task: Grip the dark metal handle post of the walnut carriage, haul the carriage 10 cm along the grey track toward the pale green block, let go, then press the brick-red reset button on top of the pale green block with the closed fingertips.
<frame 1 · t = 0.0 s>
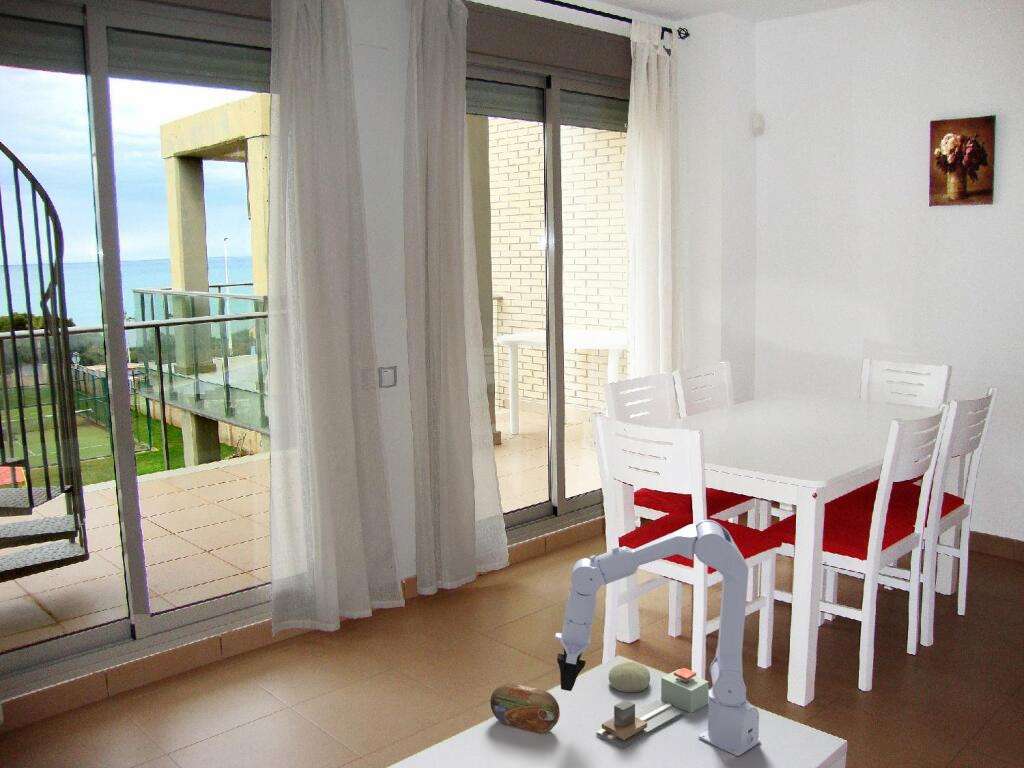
hand: (567, 680, 185), 11 cm above the table, tool pointing down, fingers open, 7 cm apart
pale green block: (684, 701, 197), on the table
track: (640, 725, 187), on the table
carriage: (624, 716, 183), point 4 cm above the table, slide at 0.0 cm
tin: (525, 727, 188), on the table
sea urchin shell: (629, 686, 204), on the table
reset button: (684, 677, 196), point 6 cm above the table, slide at 0.0 cm
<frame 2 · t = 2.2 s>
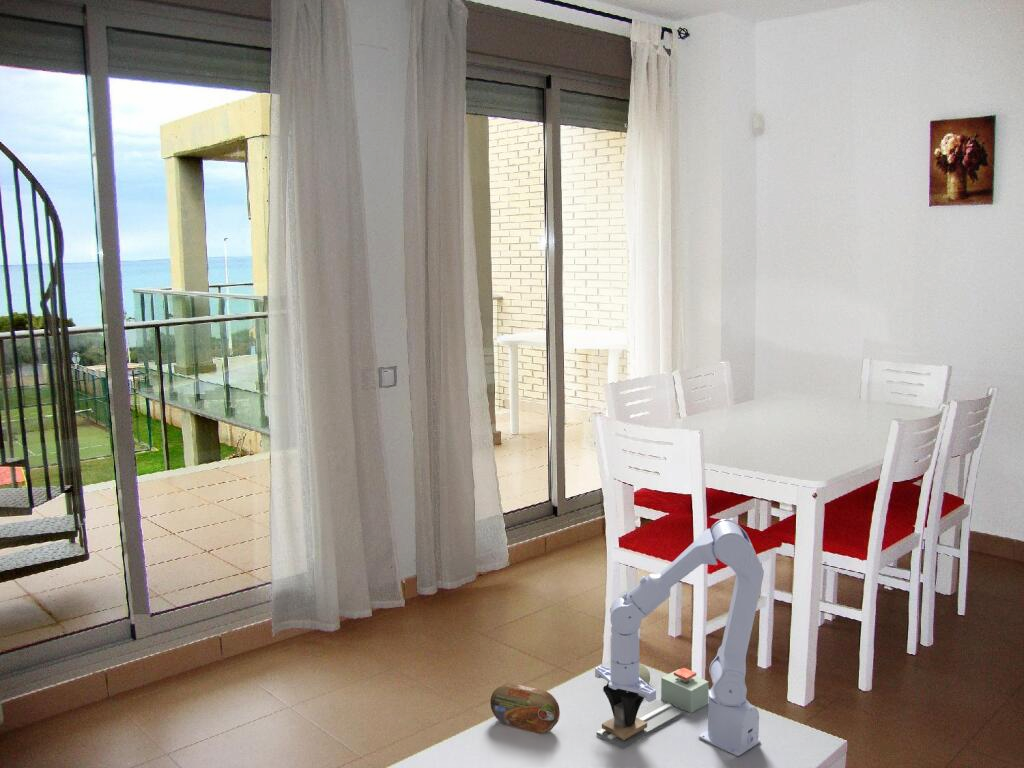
hand: (624, 721, 184), 3 cm above the table, tool pointing down, fingers closed on carriage, 2 cm apart
carriage: (624, 716, 183), point 4 cm above the table, slide at 0.0 cm, touching gripper
everything else where it was.
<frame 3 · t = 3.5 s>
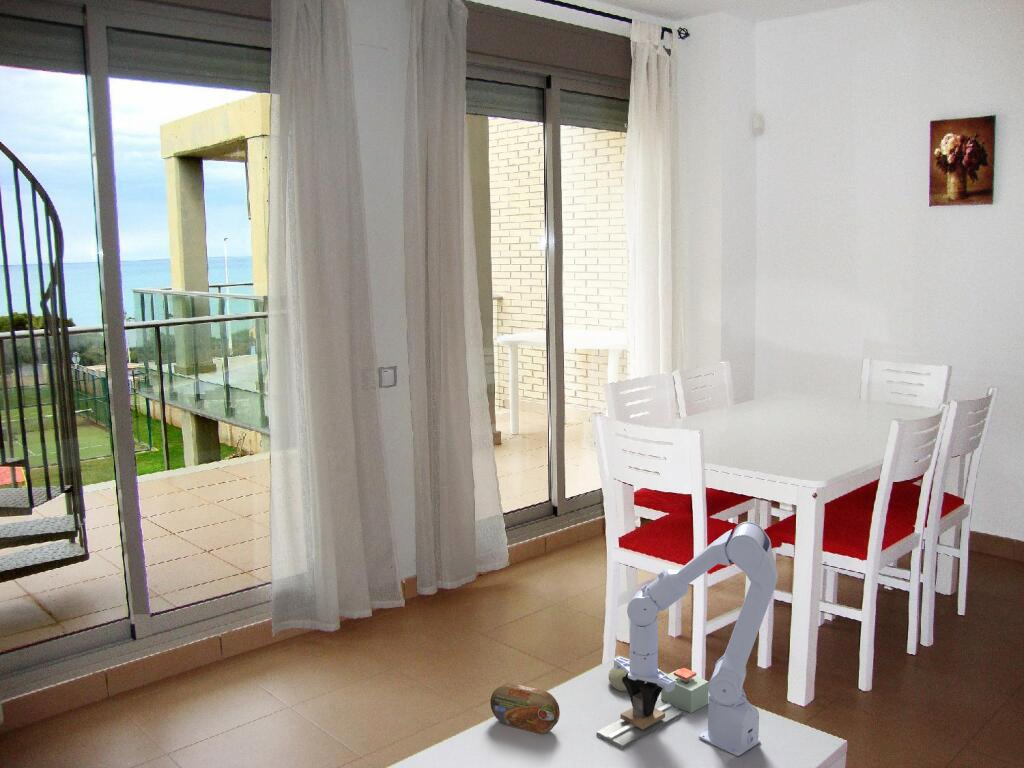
hand: (643, 711, 187), 3 cm above the table, tool pointing down, fingers closed on carriage, 2 cm apart
carriage: (642, 706, 187), point 4 cm above the table, slide at 5.7 cm, touching gripper
everything else where it was.
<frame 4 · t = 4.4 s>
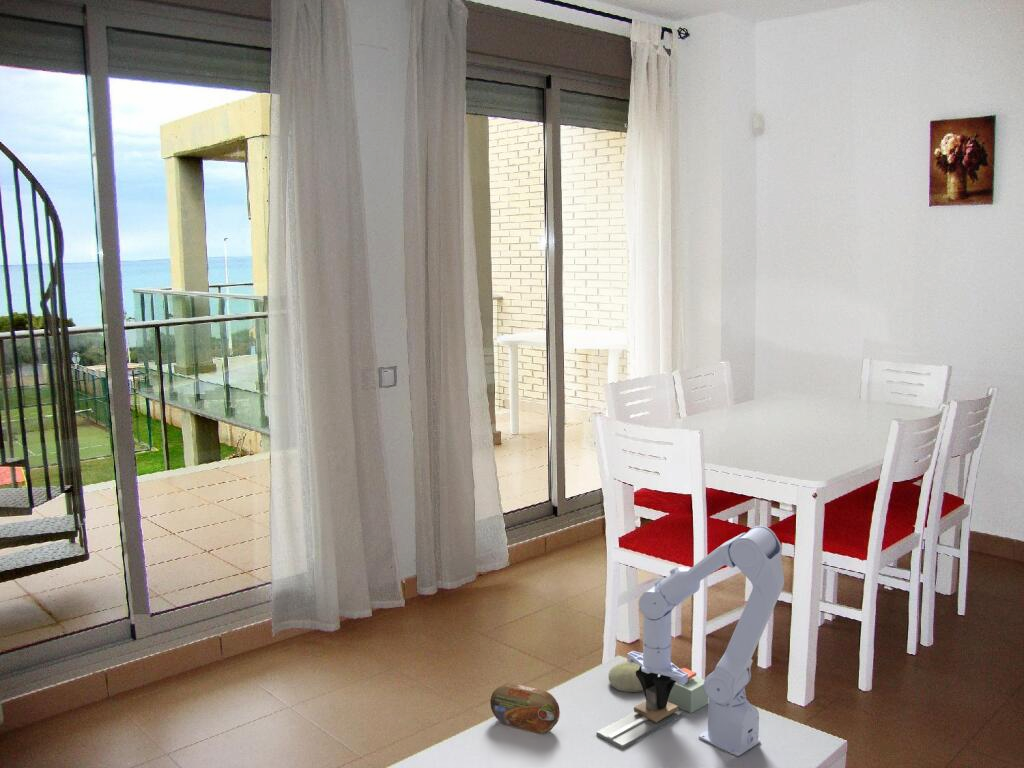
hand: (656, 704, 190), 3 cm above the table, tool pointing down, fingers closed on carriage, 2 cm apart
carriage: (656, 699, 190), point 4 cm above the table, slide at 9.8 cm, touching gripper
everything else where it was.
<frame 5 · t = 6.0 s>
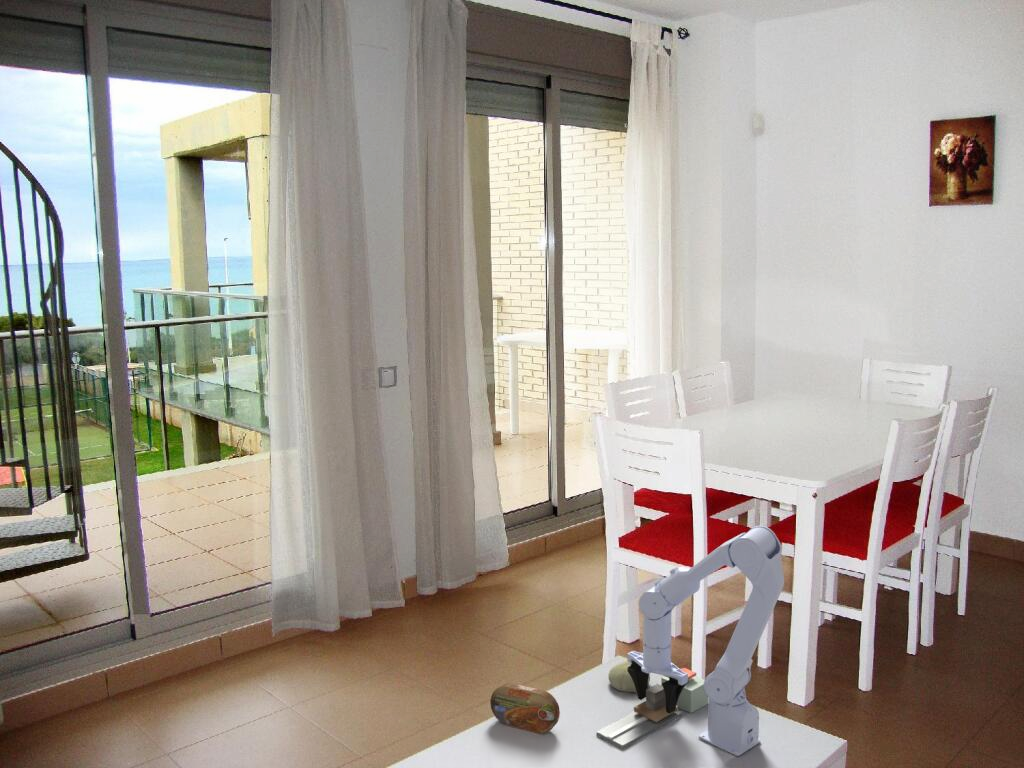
hand: (656, 704, 190), 3 cm above the table, tool pointing down, fingers open, 7 cm apart
carriage: (656, 699, 190), point 4 cm above the table, slide at 9.9 cm
everything else where it was.
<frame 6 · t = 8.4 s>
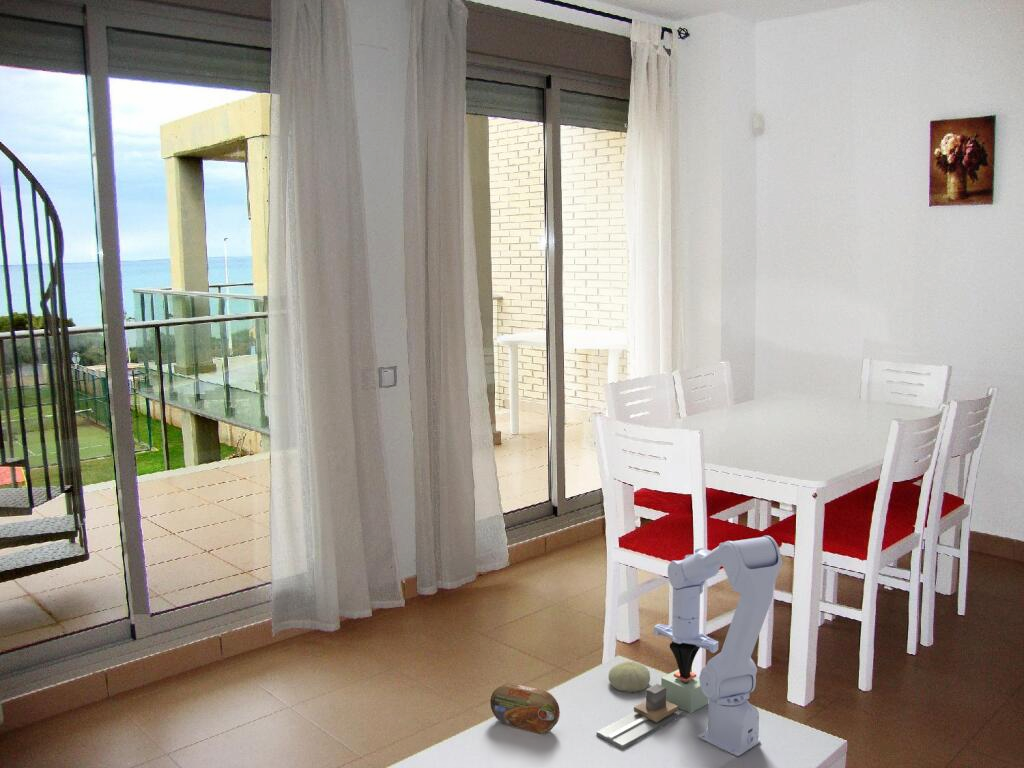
hand: (684, 674, 196), 6 cm above the table, tool pointing down, fingers closed, pressing on reset button
reset button: (684, 678, 196), point 5 cm above the table, slide at 0.3 cm, touching gripper
everything else where it was.
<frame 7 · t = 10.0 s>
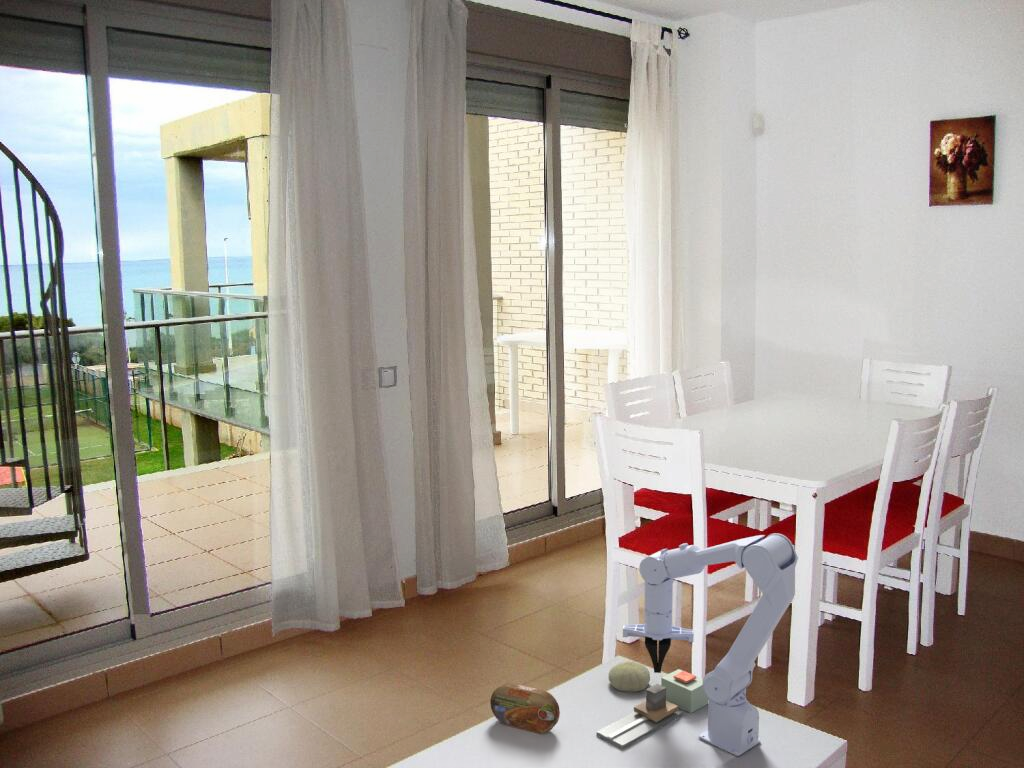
hand: (657, 670, 191), 9 cm above the table, tool pointing down, fingers closed
reset button: (684, 680, 196), point 5 cm above the table, slide at 0.7 cm
everything else where it was.
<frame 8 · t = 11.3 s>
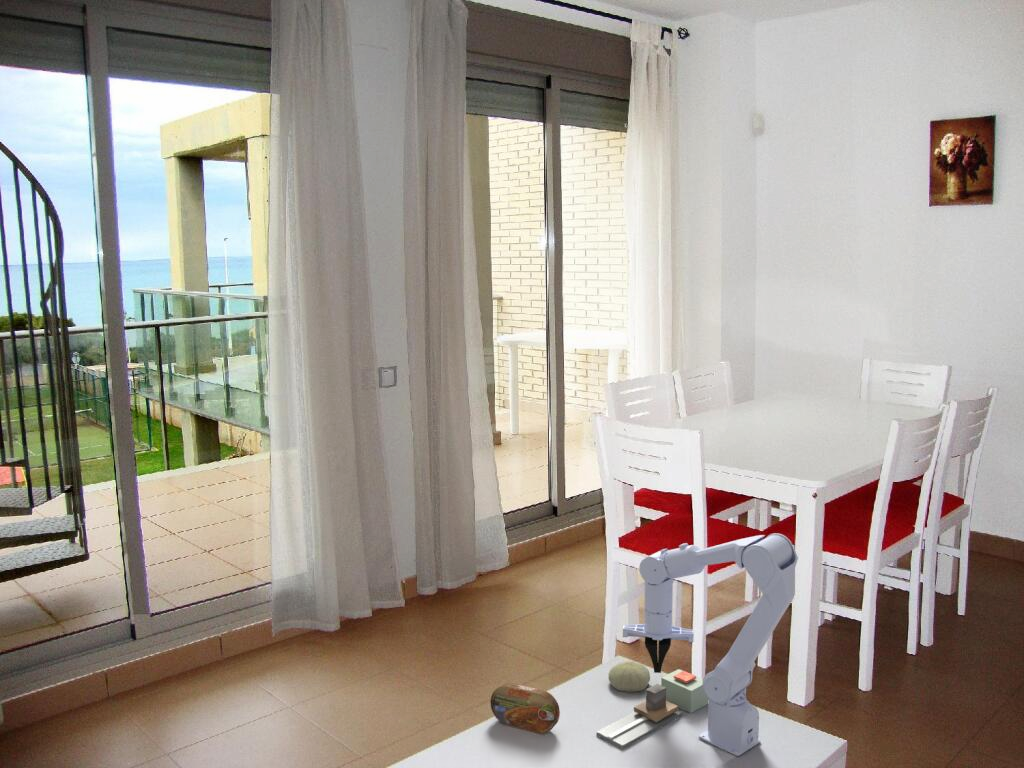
hand: (657, 670, 191), 9 cm above the table, tool pointing down, fingers closed
nothing on the table moved.
at the end: carriage slide at 9.9 cm; reset button slide at 0.7 cm; the gripper is holding nothing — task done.
